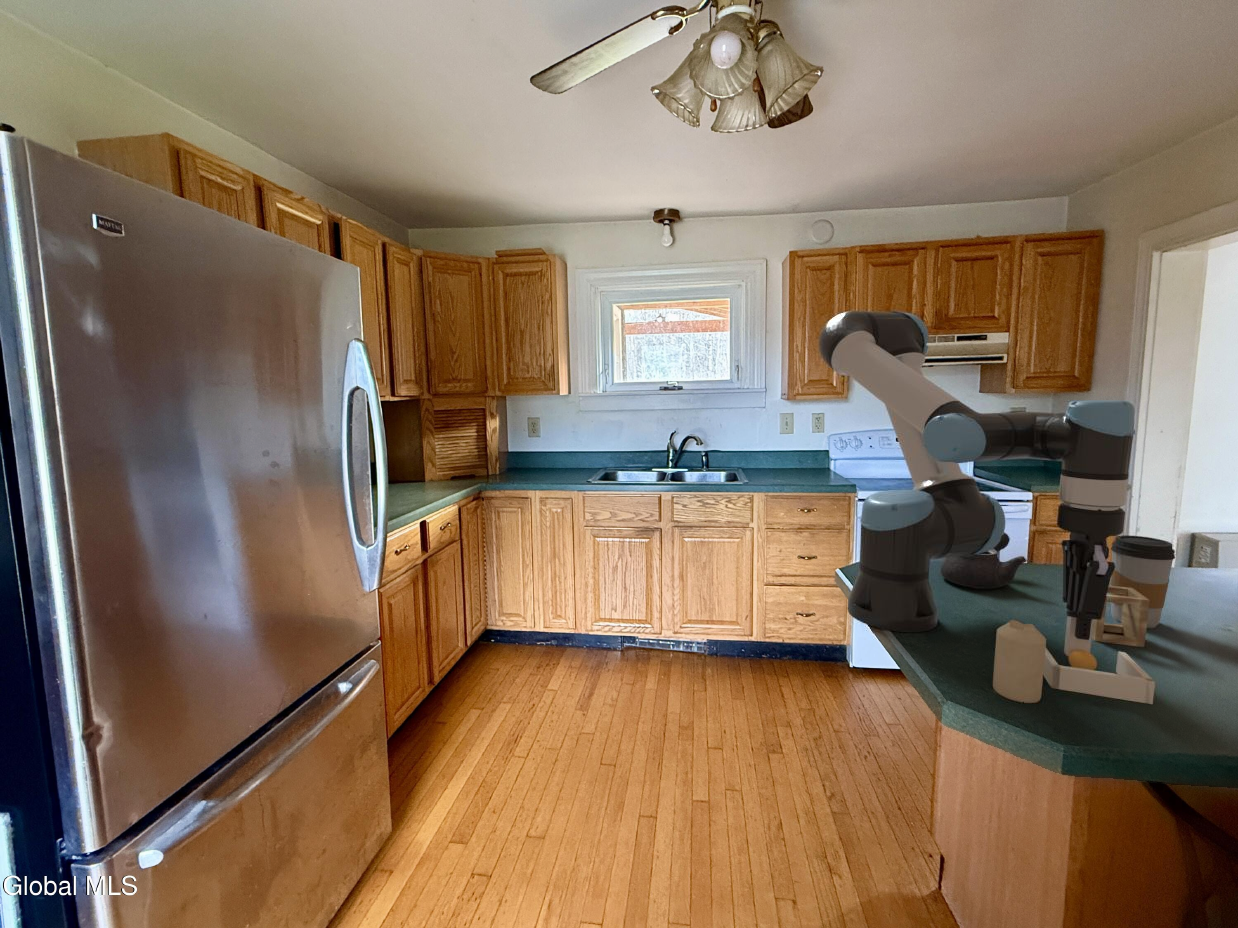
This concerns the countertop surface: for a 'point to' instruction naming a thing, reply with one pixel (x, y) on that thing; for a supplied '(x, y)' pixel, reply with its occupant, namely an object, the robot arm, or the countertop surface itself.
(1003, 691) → the candle
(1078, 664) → the ball
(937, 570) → the countertop surface
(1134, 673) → the white u-shaped corral
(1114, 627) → the wooden cage
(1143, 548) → the coffee cup
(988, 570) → the teapot
